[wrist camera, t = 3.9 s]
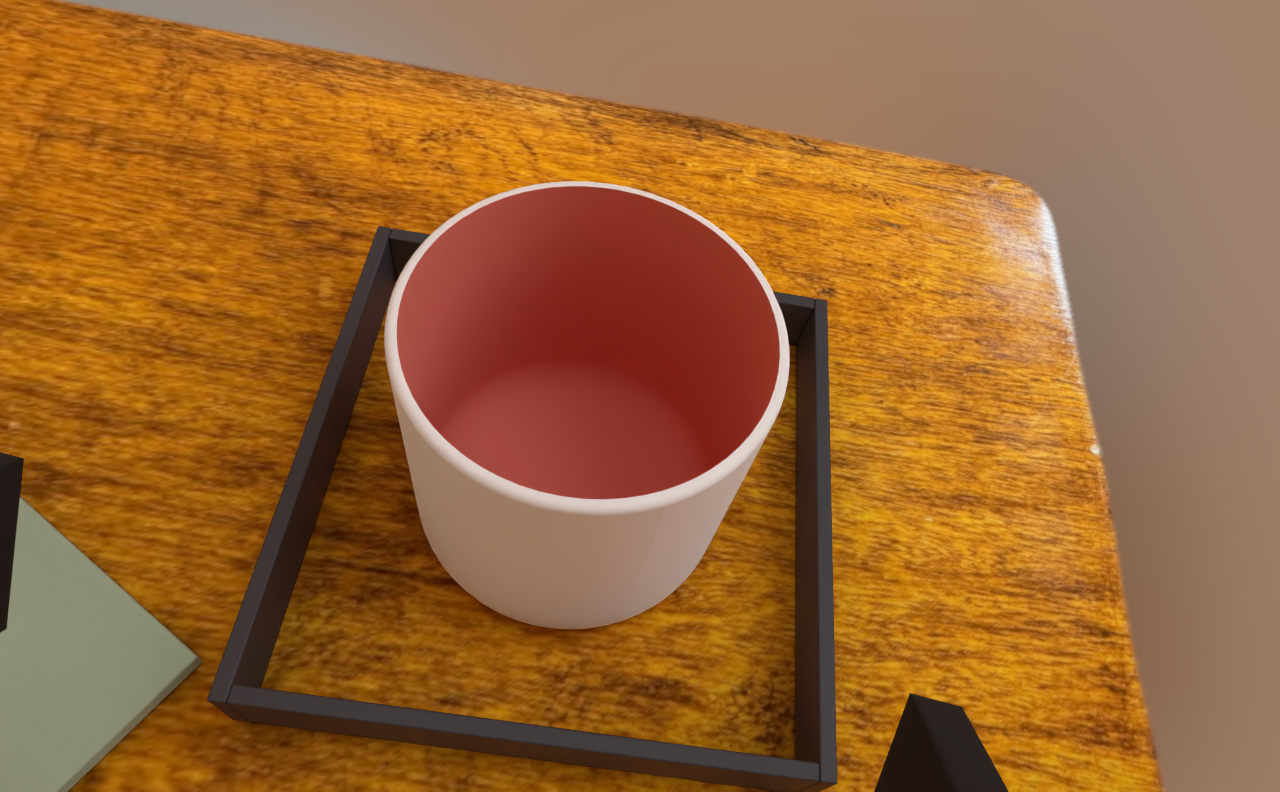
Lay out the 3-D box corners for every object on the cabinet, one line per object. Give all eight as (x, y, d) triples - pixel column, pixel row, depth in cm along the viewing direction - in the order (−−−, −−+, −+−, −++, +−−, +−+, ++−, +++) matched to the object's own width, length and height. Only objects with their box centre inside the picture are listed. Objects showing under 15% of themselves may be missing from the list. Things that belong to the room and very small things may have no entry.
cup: (757, 586, 29) (861, 445, 20) (462, 685, 26) (440, 569, 17) (651, 349, 33) (700, 153, 25) (391, 410, 30) (346, 212, 22)
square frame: (808, 337, 34) (827, 299, 32) (810, 796, 25) (837, 784, 23) (386, 269, 34) (378, 225, 31) (231, 719, 24) (205, 700, 22)
